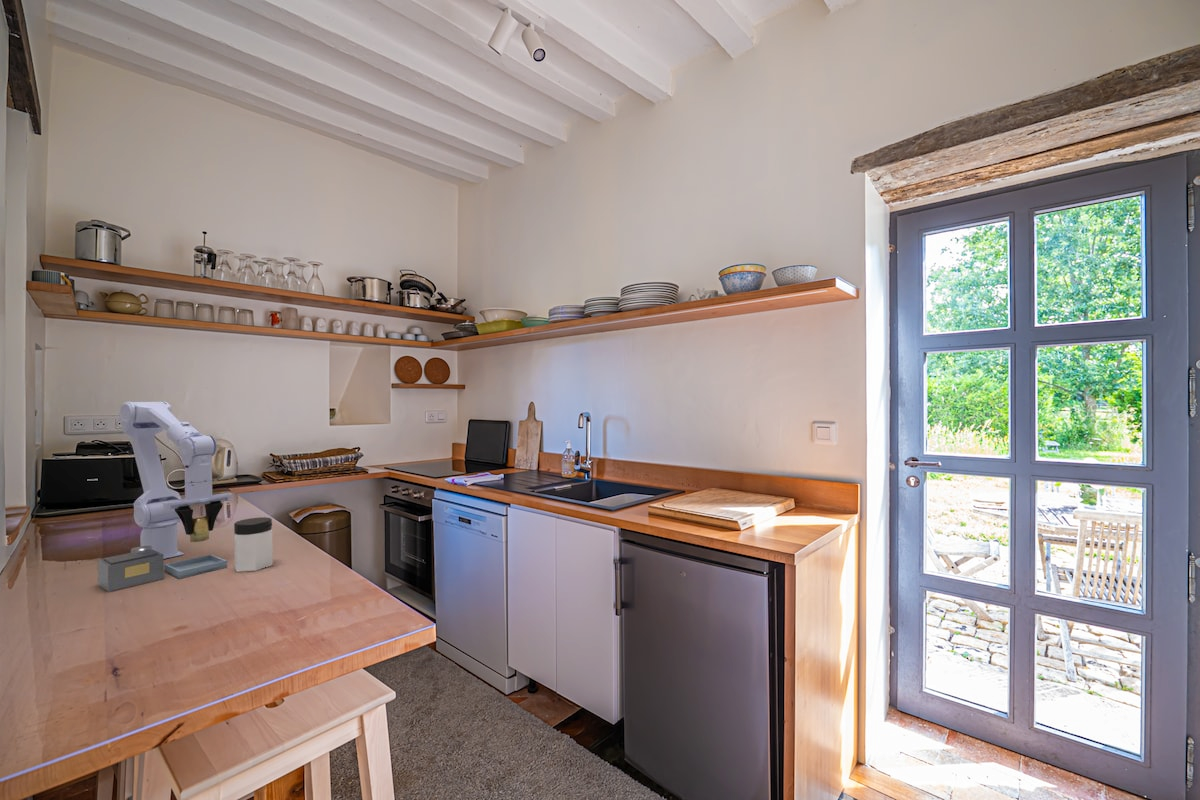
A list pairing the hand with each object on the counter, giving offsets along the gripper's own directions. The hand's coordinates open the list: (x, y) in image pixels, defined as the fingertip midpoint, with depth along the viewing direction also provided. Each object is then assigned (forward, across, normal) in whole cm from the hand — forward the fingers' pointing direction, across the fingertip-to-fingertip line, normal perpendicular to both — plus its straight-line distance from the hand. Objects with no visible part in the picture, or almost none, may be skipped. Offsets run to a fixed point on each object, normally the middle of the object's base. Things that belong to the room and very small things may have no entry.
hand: (199, 532), depth 135 cm
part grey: (+8, -10, +6) cm, 15 cm away
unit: (+8, -14, -2) cm, 17 cm away
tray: (+8, -2, -4) cm, 10 cm away
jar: (+9, +7, -15) cm, 18 cm away
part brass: (+2, 0, 0) cm, 2 cm away
